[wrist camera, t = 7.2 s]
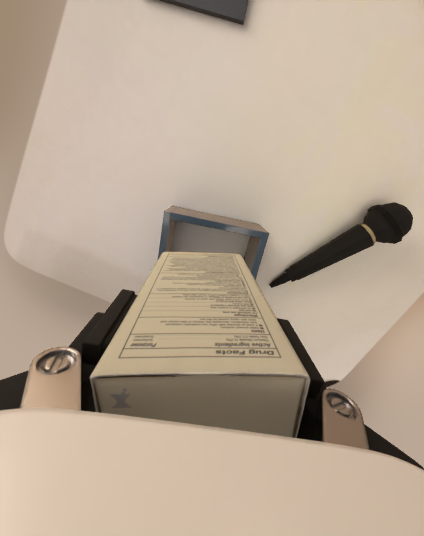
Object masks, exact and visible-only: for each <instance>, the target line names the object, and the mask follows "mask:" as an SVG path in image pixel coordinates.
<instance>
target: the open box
mask: <svg viewBox="0 0 424 536" xmlns="http://www.w3.org/2000/svg"><path fill="white" fill-rule="evenodd" d="M175 220H176V221H181V222H186V223H191V224H196V225H200V226H205V227H210V228H215V229H220V230H224V231H229V232H234V233H239V234H244V235H249V236H250V239H249V242H248V246H247V250H246V253H245V257H244V261H245V263H246V265H247V267H248V268H249V270H250V272H251V274H252V275H253V277H254V279H256V276H257V273H258V269H259V266H260V263H261V259H262V256H263V253H264V249H265V246H266V243H267V239H268V236H269V232H267V231H266V230H265V229H264V228H263V227H262V226H260V225H259V224H256V223H251V222H246V221H242V220H237V219H232V218H227V217H223V216H218V215H213V214H209V213H204V212H199V211H195V210H190V209H185V208H181V207H176V206H171V207H170V208H168V209H167V210H165V211H164V218H163V226H162V233H161V240H160V248H159V255H158V259H159V257H160V256H161V254H162V253H163V252H171V246H172V239H173V233H174V227H175Z"/></svg>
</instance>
